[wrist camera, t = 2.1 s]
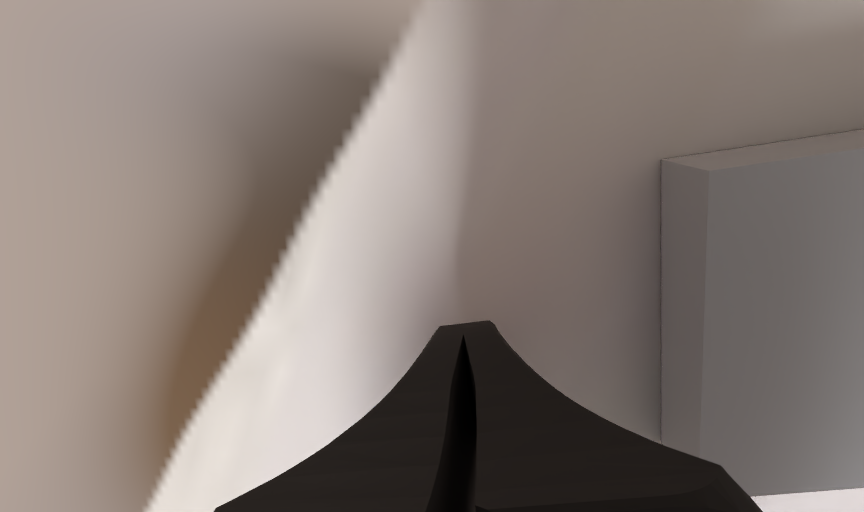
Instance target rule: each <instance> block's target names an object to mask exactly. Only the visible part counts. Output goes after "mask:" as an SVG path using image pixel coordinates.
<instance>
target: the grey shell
mask: <svg viewBox="0 0 864 512" xmlns="http://www.w3.org/2000/svg"><path fill="white" fill-rule="evenodd" d="M661 442H662V443H663V445H664V446H667V447H670V448H673V449H676V450H678V451H681V452H684V453H687V454H690V455H693V456H696V457H698V458H701V459H704V460H707V461H710V462H713V463H716V464H718V465H721V466H722V467H723V468H724V469H725V471H726V472H727V473H728V474H729V475H730V476H731V477H732V479H733V480H734V481H735V482H736V483H737V484H738V485H739V486H740V487H741V488H742V489H743V490H744V491H745V492H746V493H747V494H748V495H749V496H763V495H776V494H789V493H802V492H816V491H829V490H842V489H855V488H864V129H861V130H854V131H847V132H841V133H834V134H827V135H821V136H814V137H808V138H801V139H794V140H788V141H781V142H774V143H768V144H761V145H755V146H748V147H741V148H735V149H728V150H721V151H715V152H708V153H702V154H695V155H688V156H682V157H675V158H668V159H662V160H661Z"/></svg>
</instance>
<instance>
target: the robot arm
mask: <svg viewBox="0 0 864 512" xmlns="http://www.w3.org/2000/svg"><path fill="white" fill-rule="evenodd" d="M214 512H763V511H762V510H761V509H760V508H759V507H758V506H757V504H756V503H755V502H754V501H753V500H752V499H751V497H750V496H749V495H748V494H747V493H746V492H745V491H744V490H743V489H742V488H741V487H740V486H739V485H738V484H737V483H736V482H735V481H734V480H733V479H732V477H731V476H730V475H729V474H728V473H727V472H726V471H725V469H724V468H723V467H722V466H721V465H718V464H716V463H713V462H710V461H707V460H704V459H701V458H698V457H696V456H693V455H690V454H687V453H684V452H681V451H678V450H676V449H673V448H670V447H667V446H664V445H661V444H659V443H656V442H654V441H651V440H649V439H647V438H644V437H642V436H640V435H638V434H635V433H633V432H631V431H628V430H626V429H624V428H622V427H620V426H618V425H616V424H614V423H612V422H610V421H608V420H606V419H604V418H602V417H600V416H598V415H597V414H595V413H593V412H591V411H589V410H588V409H586V408H584V407H582V406H581V405H579V404H577V403H576V402H574V401H573V400H571V399H569V398H568V397H566V396H565V395H564V394H562V393H561V392H559V391H558V390H557V389H555V388H554V387H553V386H551V385H550V384H549V383H548V382H546V381H545V380H544V379H543V378H542V377H541V376H539V375H538V374H537V373H536V372H535V371H534V370H533V369H532V368H531V367H529V366H528V365H527V364H526V363H525V362H524V361H523V360H522V359H521V357H520V356H519V355H518V354H517V353H516V352H515V351H514V350H513V349H512V348H511V347H510V346H509V344H508V343H507V342H506V341H505V339H504V338H503V337H502V336H501V334H500V333H499V331H498V330H497V328H496V327H495V324H493V323H492V322H491V321H490V320H489V321H480V322H472V323H464V324H455V325H447V326H440V327H439V328H438V329H437V330H436V332H435V333H434V335H433V336H432V338H431V339H430V341H429V342H428V344H427V345H426V347H425V348H424V350H423V351H422V353H421V354H420V355H419V357H418V358H417V359H416V361H415V362H414V363H413V365H412V366H411V367H410V369H409V370H408V371H407V373H406V374H405V375H404V376H403V377H402V379H401V380H400V381H399V382H398V383H397V384H396V386H395V387H394V388H393V389H392V390H391V391H390V392H389V393H388V394H387V395H386V396H385V397H384V398H383V399H382V400H381V401H380V402H379V403H378V404H377V405H376V406H375V407H374V408H373V409H372V410H371V411H370V412H368V413H367V414H366V415H365V416H364V417H363V418H362V419H360V420H359V421H358V422H357V423H355V424H354V425H353V426H351V427H350V428H349V429H348V430H346V431H345V432H344V433H342V434H341V435H340V436H338V437H337V438H336V439H335V440H333V441H332V442H331V443H329V444H328V445H326V446H325V447H324V448H322V449H321V450H319V451H318V452H316V453H315V454H313V455H312V456H310V457H309V458H307V459H305V460H304V461H302V462H300V463H299V464H297V465H296V466H294V467H292V468H291V469H289V470H287V471H286V472H284V473H282V474H280V475H279V476H277V477H275V478H274V479H272V480H270V481H268V482H266V483H264V484H262V485H260V486H258V487H256V488H254V489H252V490H251V491H249V492H247V493H245V494H243V495H241V496H239V497H237V498H235V499H233V500H231V501H229V502H227V503H225V504H223V505H221V506H219V507H217V508H216V509H215V511H214Z"/></svg>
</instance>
